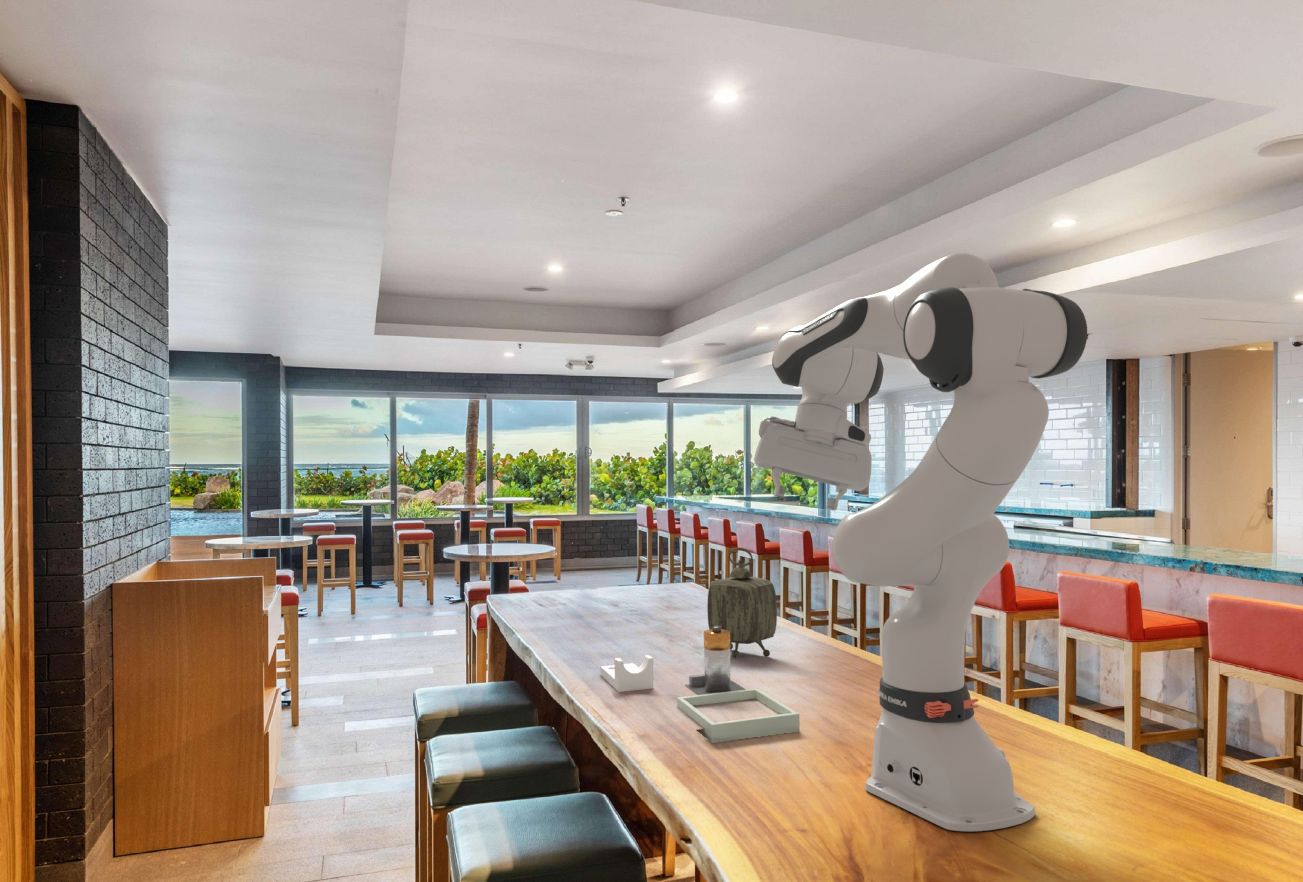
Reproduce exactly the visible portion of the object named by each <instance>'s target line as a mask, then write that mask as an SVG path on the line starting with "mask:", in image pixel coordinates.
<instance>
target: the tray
mask: <svg viewBox="0 0 1303 882" xmlns="http://www.w3.org/2000/svg"><path fill="white" fill-rule="evenodd" d="M752 699H756V700H757V701H759V702H761V704H764V705H765V706H766V707H768V708H770V709H771V710H773V711H774V712H776V713H778V714H775V715H774V714H773V715H765V716H757V717H749V718H743V719H734V720H727V721H719V722H714V721H713V720H712V719H710V718H709V717H708V716H706V715H705V714H704V713H702V712H701V711H700V710H699V709H697V708H696V707H694V706H701V705H711V704H720V703H728V702H737V701H745V700H752ZM676 707H677V708H679V709H680V710H681V711H683V713H685V714H686V715H687V716H689V717H690V718H691V719H692V720H693V721H695V722H696V723H697V724H698V725H699V726H701V727H702V728H701V729H696V731H697V733H699V734H700V735H701V734H702V735H701V736H702V737H703V738H705V739H706V738H707V739H708V740H709V741H708V740H707V739H706V740H707V741H708V742H709V743H711V744H718V743H717V742H720V743H726V742H725V741H727V742H732V741H731V740H734V741H739V740H738V739H742V740H746V739H745V738H749V739H753V738H752V737H757V738H760V737H759V736H764V737H769V736H768V735H771V736H776V735H775V734H779V735H784V733H786V734H793V732H794V733H798V732H799V731H801V729H800V726H801V724H800V713H799V712H797V711H796V710H794V709H792V708H790V707H789V706H787V705H785V704H784V703H782V702H781V701H779V700H777V699H776V698H774V697H772V696H770V695H769V694H767V693H765V692H764V691H762V690H761V689H759V688H756V687H755V688H748V689H746V690H739V691H730V692H721V693H712V694H703V695H697V694H695V695H688V696H686V695H685V696H680V697H677V698H676ZM799 733H800V732H799ZM766 735H767V736H766Z"/></svg>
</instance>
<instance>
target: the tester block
mask: <svg viewBox="0 0 1303 882" xmlns="http://www.w3.org/2000/svg"><path fill="white" fill-rule="evenodd" d="M688 679H689V681H688V684H684V686H685V687H686V688H687V689H689V690H690V691H692V692H693V694H695V695H703V694H712V692H708V691H706V690H705V673H703V674H693V675H689V676H688ZM739 690H747V689H746V688H744V687H742V686H741V685H739V684H738V683H737V682H735V681H733V680H731V690H730V691H739ZM730 691H728V692H730Z"/></svg>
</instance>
